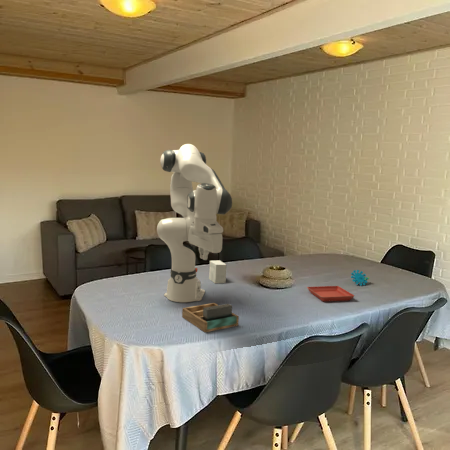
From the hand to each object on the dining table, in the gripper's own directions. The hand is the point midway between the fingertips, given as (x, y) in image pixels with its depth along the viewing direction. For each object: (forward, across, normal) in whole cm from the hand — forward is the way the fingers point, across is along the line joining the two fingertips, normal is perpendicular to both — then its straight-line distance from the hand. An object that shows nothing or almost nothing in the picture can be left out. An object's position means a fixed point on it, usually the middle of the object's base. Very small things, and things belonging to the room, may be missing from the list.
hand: (203, 258), depth 186 cm
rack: (+28, -1, +5) cm, 28 cm away
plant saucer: (+29, -2, +78) cm, 83 cm away
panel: (+26, +5, +5) cm, 27 cm away
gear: (+29, -10, +110) cm, 114 cm away
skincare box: (+29, -51, +41) cm, 72 cm away
